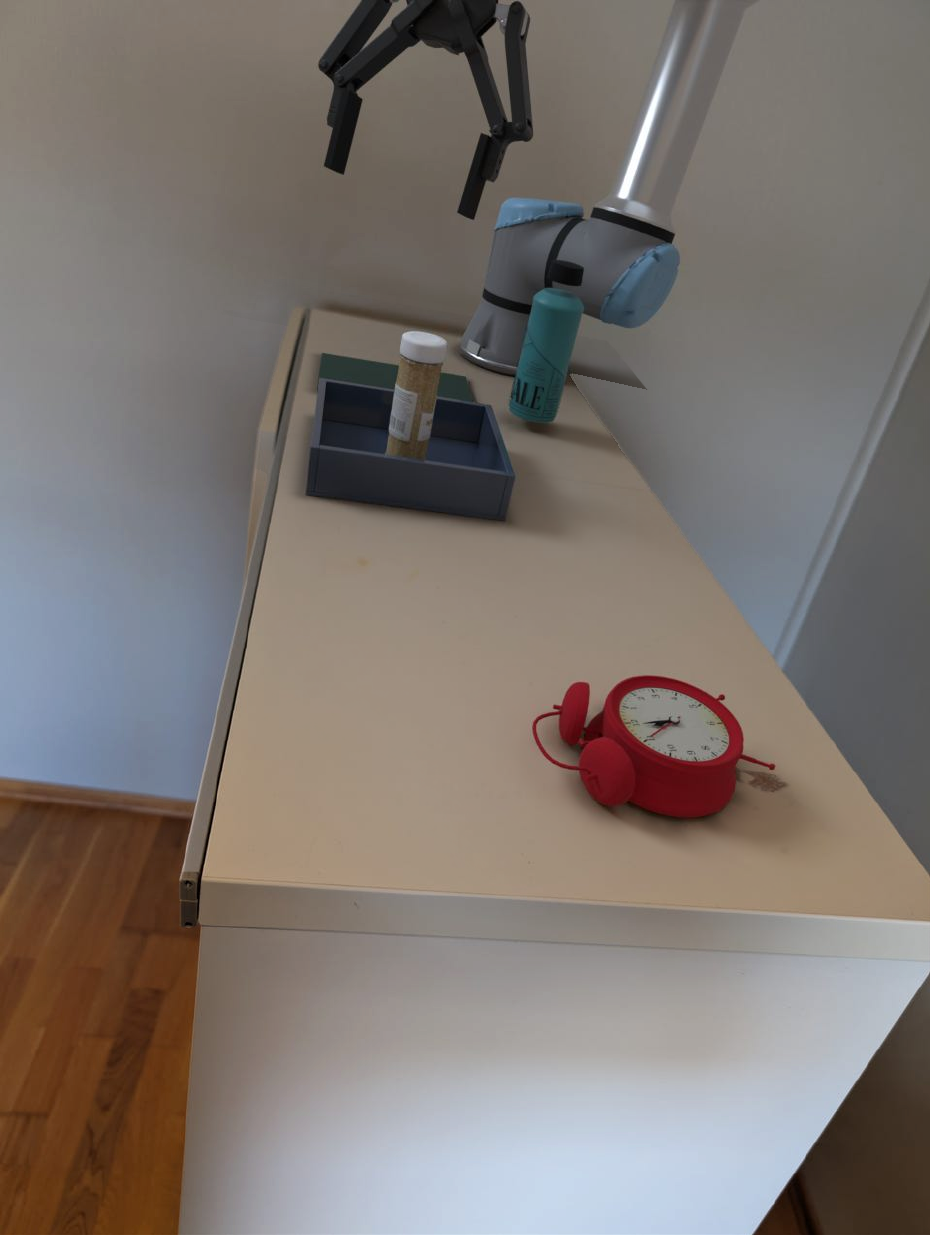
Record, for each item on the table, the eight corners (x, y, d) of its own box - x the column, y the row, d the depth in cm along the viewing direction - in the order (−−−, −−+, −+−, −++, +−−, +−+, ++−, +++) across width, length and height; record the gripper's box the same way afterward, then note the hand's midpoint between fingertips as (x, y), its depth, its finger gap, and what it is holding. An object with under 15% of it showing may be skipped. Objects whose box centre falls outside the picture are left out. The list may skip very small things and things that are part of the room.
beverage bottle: (553, 421, 113) (595, 263, 103) (553, 439, 108) (597, 273, 97) (505, 410, 113) (542, 251, 103) (502, 427, 108) (540, 260, 97)
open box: (482, 444, 102) (491, 404, 99) (505, 521, 85) (516, 476, 83) (315, 419, 98) (319, 377, 95) (305, 494, 82) (310, 446, 79)
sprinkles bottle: (431, 472, 91) (455, 346, 84) (391, 472, 89) (412, 343, 82) (415, 454, 94) (437, 331, 87) (376, 454, 92) (395, 327, 85)
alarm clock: (798, 776, 54) (602, 739, 48) (743, 844, 57) (552, 816, 51) (721, 674, 62) (546, 631, 56) (676, 738, 65) (505, 703, 59)
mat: (465, 380, 121) (465, 376, 120) (475, 416, 109) (476, 412, 109) (321, 356, 117) (322, 352, 117) (316, 391, 105) (317, 387, 105)
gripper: (320, -140, 70) (260, 142, 77) (606, -63, 65) (512, 230, 72) (360, -94, 76) (301, 161, 84) (621, -22, 72) (533, 242, 79)
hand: (398, 193), depth 78 cm, fingers open, 13 cm apart
